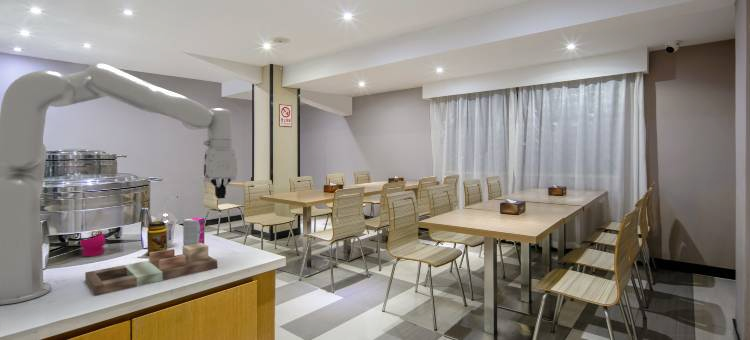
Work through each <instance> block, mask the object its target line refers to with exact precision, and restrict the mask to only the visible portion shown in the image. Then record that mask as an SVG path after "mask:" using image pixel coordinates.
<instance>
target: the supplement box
mask: <svg viewBox="0 0 750 340" xmlns="http://www.w3.org/2000/svg"><path fill="white" fill-rule="evenodd" d="M182 225H183V229H182V230H183V240H182V242H183V243H182V247H183V246H186V245H192V244H197V243H203V244H205V227H206V226H205V225H206V223H205V217H188V218H186V219H183V224H182Z"/></svg>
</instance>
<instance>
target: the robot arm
mask: <svg viewBox="0 0 750 340" xmlns="http://www.w3.org/2000/svg"><path fill="white" fill-rule="evenodd" d="M104 97H108V98H111V99H113V100H116V101H119V102H121V103H123V104H126V105H129V106H131V107H133V108H135V109H138V110H140V111H143V112H147V113H151V114H152V113H154V114H158V115H163V116H167V117H169V118H172V119H175V120H176V121H177V120H178V121H179V122H180V123H181V124H182V126H184V128H187V129H189V130H195V131H196V130H204V129H205V130H207V139H206V140H205V141H203V145H204V146H206V149H205V151H204V158H203V176H204V178H203V181H204V182H205V183H206V182H207V183H210V184H212V186H214V190H215V191H214V192H215V193H214V195H215V197H216V199H219V200H220V199H221V200H222V199H225V198H226V195H227V190H226V189H227V188H226V187H227V186H228V184H229V183H230V182H233V181H236V180H237V175H238V165H237V156H236V152H235V148H232V112H231V111H230V109H227V108H222V107H221V108H220V107H217V108H215V107H212V108H208V107H207V106H205V105H203V104H202V103H200V102H197V101H195V100H194V99H190V98H189V97H188V96H187V97H186V96H184V95H182V94H179V93H176V92H174V91H171V90H168V89H165V88H163V87H160V86H158V85H155V84H153V83H151V82H148V81H146V80H144V79H141V78H139V77H136V76H134V75H132V74H130V73H128V72H126V71H124V70H121V69H119V68H117V67H116V66H112V65H109V64H107V63H103V62H97V63H93V64H91V65H89V67H87V68H86V69H85V70H82V71H79V72H73V73H67V74H63V73H61V72H58V71H55V70H49V69H47V70H45V69H44V70H36V71H32V72H28V73H26V74H23V75H21V76H19V77H17V78H16V79H15V80H14V81H12V82H11V84H9V86H8V87H7V89H6V90H5V92H4V95H3V97H2V102H1V105H0V305H2V306H3V305H10V304H11V305H12V304H16V303H21V302H22V303H23V302H26V301H30V300H34V299H36V298H38V297H41V296H44V295H47V294H48V293H49V292H50V291H51V290H52V284H51V283H49V282H44V266H43V265H44V264H43V242H42V241H43V239H42V238H43V237H42V221H41V206H40V205H41V204H40V202H41V201H40V200H41V199H40V197H41V196H42V193H43V190H44V189H43V187H44V177H45V171H46V161H47V148H46V146H45V143H44V134H45V133H44V130H45V125H46V116H47V113H48V112H47V111H48V109H49V107H50V106H51V107H55V108H59V107H60V108H62V107H67V106H72V105H76V104H79V103H81V104H82V103H85V102H88V101H94V100H98V99H100V98H101V99H102V98H104Z"/></svg>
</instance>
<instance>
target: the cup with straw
mask: <svg viewBox="0 0 750 340" xmlns="http://www.w3.org/2000/svg"><path fill="white" fill-rule="evenodd" d="M176 199H179V196H172V197H166V198H164V199H163V211H162V212H160V213H157V215H156V217H155V218H154V220H153V221H152V222H156V221H163V222H165V228H166V230H167V249H168V248H169V249H170V248H172V247H173V243H174V238H175V237H174V235H175V229H176V224H177V223H178V221H179V220H178V218H176V216H175V215H174V213H172V212H170V211H167V207H166V206H167V201H169V200H176Z"/></svg>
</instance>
